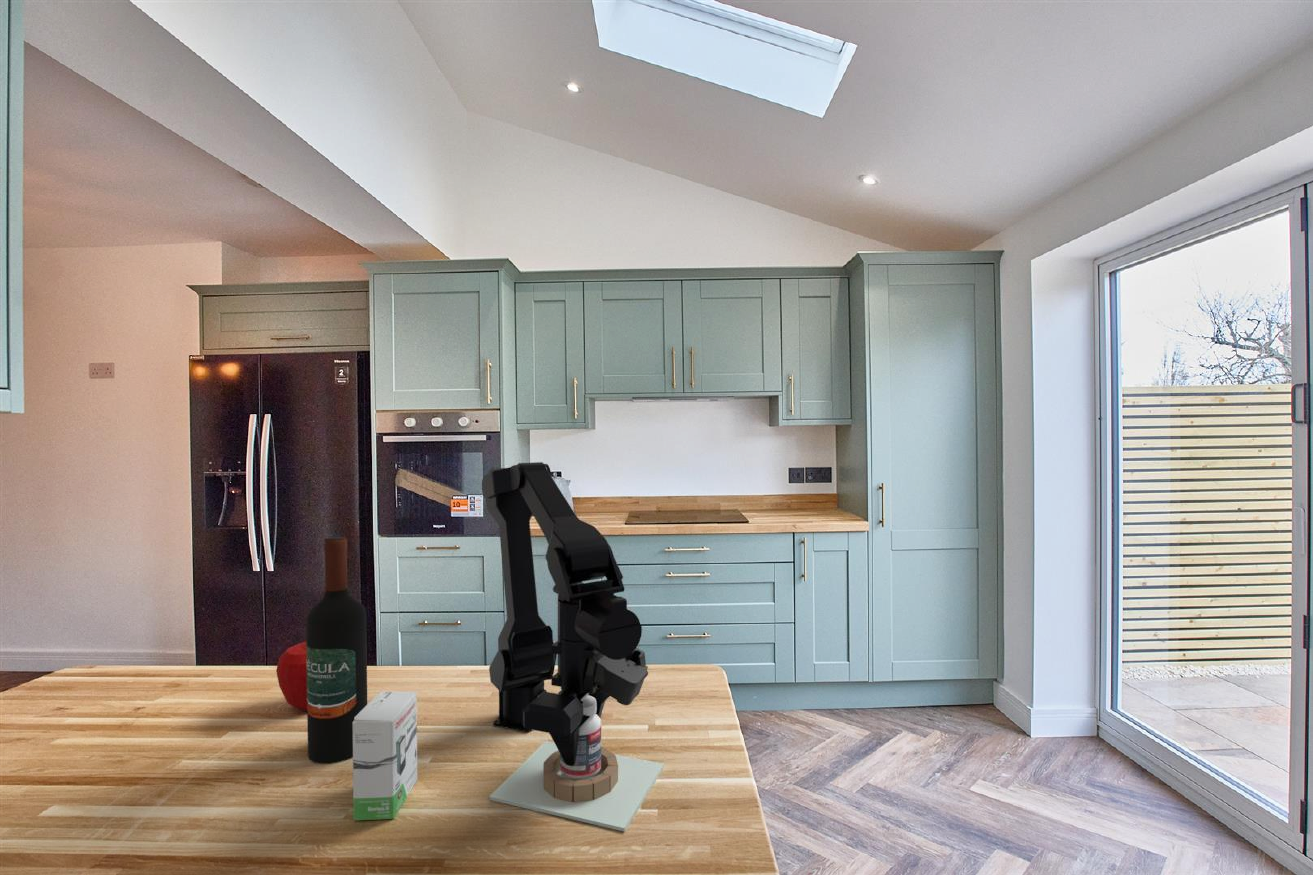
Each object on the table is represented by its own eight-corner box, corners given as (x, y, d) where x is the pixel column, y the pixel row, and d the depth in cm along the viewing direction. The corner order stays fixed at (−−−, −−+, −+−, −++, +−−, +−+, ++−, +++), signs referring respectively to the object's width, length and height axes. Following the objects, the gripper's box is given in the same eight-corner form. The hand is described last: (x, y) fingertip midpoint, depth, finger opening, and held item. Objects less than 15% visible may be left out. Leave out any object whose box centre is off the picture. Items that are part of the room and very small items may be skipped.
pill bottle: (594, 783, 77) (594, 712, 77) (554, 778, 78) (554, 708, 78) (606, 760, 82) (606, 694, 82) (568, 755, 83) (568, 690, 83)
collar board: (489, 799, 77) (489, 780, 77) (545, 743, 90) (545, 727, 90) (624, 831, 71) (625, 810, 71) (664, 766, 84) (664, 749, 84)
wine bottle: (379, 742, 90) (377, 536, 89) (333, 768, 83) (330, 545, 82) (343, 731, 93) (340, 532, 92) (295, 755, 86) (292, 541, 86)
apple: (342, 713, 99) (341, 645, 99) (272, 724, 95) (271, 654, 95) (346, 688, 108) (345, 626, 108) (283, 697, 104) (282, 633, 104)
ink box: (394, 821, 73) (393, 721, 72) (350, 822, 72) (349, 721, 72) (419, 778, 81) (418, 688, 81) (380, 779, 81) (379, 689, 81)
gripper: (608, 670, 68) (608, 809, 69) (663, 618, 86) (662, 729, 86) (520, 657, 72) (520, 789, 72) (589, 610, 90) (589, 716, 90)
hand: (580, 753), depth 80 cm, fingers closed on pill bottle, 5 cm apart
